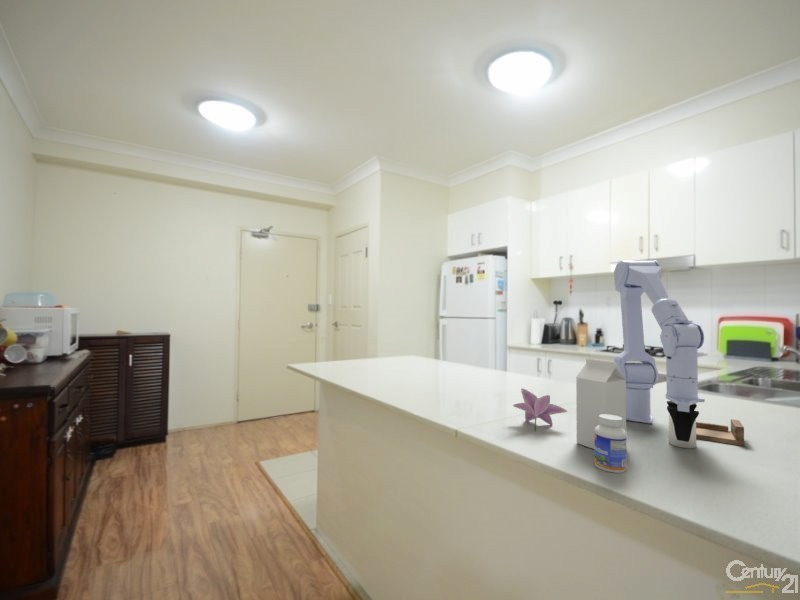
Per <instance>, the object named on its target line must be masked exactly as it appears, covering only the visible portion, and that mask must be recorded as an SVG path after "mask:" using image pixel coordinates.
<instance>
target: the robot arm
mask: <svg viewBox="0 0 800 600" xmlns="http://www.w3.org/2000/svg"><path fill="white" fill-rule="evenodd" d="M662 269H663V268H662V266H661V264H660V262H659V261H658V260H624V259H623V260H622V259H621V260H620V261H618V262H617V264H616V266H615V269H614V270H613V275H614V276H613V277H614V286H615V291H616V292H618V293H619V294H620V309H621V311H620V312H621V323H622V324H621V325H622V326H621V327H622V338H623V339H622V340H623V351H622V352H620V353H618V354H617V355H616V356H615V357H614V358H613V362H616V368H617V369H618V370H619V372H620V373H621V374H622V375H623V377H624V378H625V379H626V421H629V422H630V421H631V422H636V423H645V424H650V425H651V424H653V418H654V417H653V415H652V414H651V389H654V386H655V385H656V384H657V382H658V380H659V371H658V367H657V365H656V360H655V358H654V356H652V355H650V354H649V353H648V352H646V349H645V334H644V322H643V310H642V298H641V296H642V295H643V293H645V294H646V296H647V297H648V299H649V300H650V302H651V303H652V306H651V309H650V310H651V313H652V315H653V317H654V319H655V320H656V322H657V325H658V326H659V328H660V329H661V331H660V332H661V333H660V334H659V336H660V337H659V338H660V343H661V345H662V348H663V350H662V351H663V354H664V356H666V360H665V362H666V363H665V364H666V368H665V369H666V394H665V399H666V400H667V401H666V404H667V406H666V411H667V412H668V414H669V415H670V416H671V418H672V421H673V424H674V429H675V434H676V438H677V440H680V441H686V442H689V439H690V436H691V431H692V427H693V424H694V421H695V419H696V420H697V418H698V416H699V415H700V412H699V410H696V408H698V407H697V405H698V404H697V403H705V402H706V401H705V397H700V396H699V391H698V390H699V389H698V388H699V386H698V385H699V384H698V383H699V382H698V380H699V379H698V378H699V377H698V376H699V373H698V371H699V370H698V369H699V367H698V364H699V363H698V349H701V348H702V347H703V345H704V343H705V342H704V341H705V334H704V330H703V329H702V326H701V325H700V324H698V323H696V322H693V320H689V318H688V317H687V316H686V313H685V312H684V310H683V309H682V307H681V306H680V304H679V302H678V301H677V300H676V299H672V298H670V297H669V294H668V292H667V291H666V288H665V286H664V284H663V282H662V279H661V278H662V273H663V272H662V271H663V270H662ZM631 361H632V362H631Z"/></svg>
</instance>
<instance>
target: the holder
mask: <svg viewBox="0 0 800 600" xmlns="http://www.w3.org/2000/svg"><path fill="white" fill-rule="evenodd" d="M697 439H698V440H703V441H711V442H716V443H723V444H730V445H736V446H741V447H745V446H746V445H745V444H746V442H745V426H743V424H742V423H741V420H739V419H732V418H731V419H730V430H729V425H725V424H724V425H723V424H718V423H717V424H716V423H710V422H704V421H703V422H701V421H696V440H697Z"/></svg>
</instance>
